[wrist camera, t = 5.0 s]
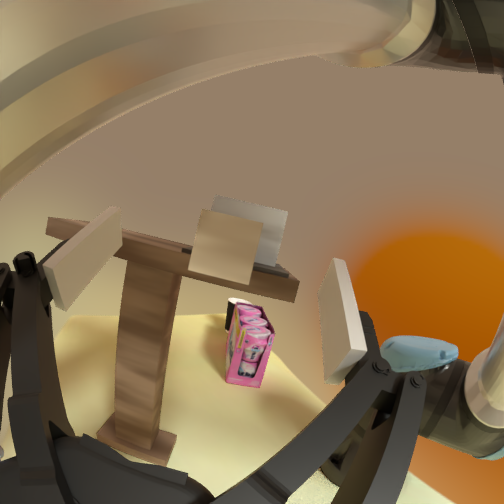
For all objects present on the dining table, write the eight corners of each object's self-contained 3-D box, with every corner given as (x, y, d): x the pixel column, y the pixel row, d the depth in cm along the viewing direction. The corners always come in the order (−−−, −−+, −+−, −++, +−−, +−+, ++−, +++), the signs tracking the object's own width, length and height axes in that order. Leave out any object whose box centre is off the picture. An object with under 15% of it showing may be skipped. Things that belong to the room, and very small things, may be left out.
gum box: (261, 392, 53) (278, 336, 52) (225, 386, 52) (239, 329, 51) (251, 349, 76) (263, 306, 76) (225, 344, 76) (235, 300, 75)
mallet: (210, 248, 35) (221, 202, 35) (271, 262, 35) (282, 217, 35) (142, 257, 13) (171, 142, 13) (299, 296, 13) (326, 176, 13)
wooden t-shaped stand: (85, 381, 37) (99, 220, 36) (238, 432, 37) (285, 265, 36) (48, 412, 25) (49, 213, 24) (233, 483, 25) (300, 277, 24)
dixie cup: (243, 339, 83) (251, 307, 82) (218, 333, 83) (226, 300, 82) (244, 331, 91) (252, 301, 90) (222, 326, 91) (229, 296, 90)
